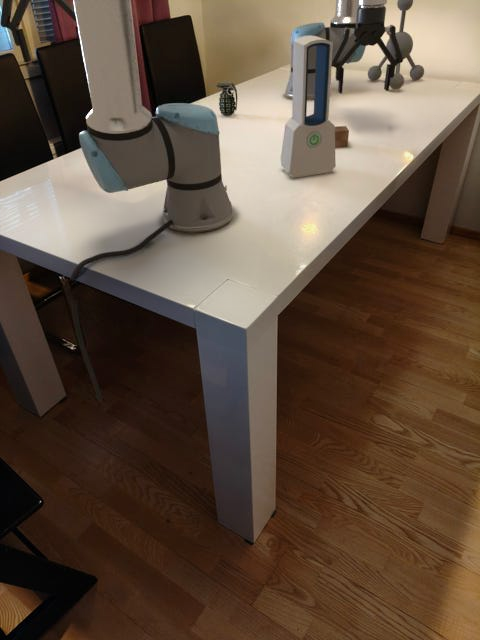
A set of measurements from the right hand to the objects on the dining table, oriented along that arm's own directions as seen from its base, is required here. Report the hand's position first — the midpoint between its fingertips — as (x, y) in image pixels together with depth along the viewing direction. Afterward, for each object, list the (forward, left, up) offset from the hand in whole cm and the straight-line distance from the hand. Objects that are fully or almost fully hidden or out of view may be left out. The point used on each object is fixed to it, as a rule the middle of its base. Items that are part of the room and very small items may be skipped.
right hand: (363, 91), depth 143 cm
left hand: (+21, -80, +16) cm, 85 cm away
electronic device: (+30, -21, -11) cm, 39 cm away
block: (+12, -9, -11) cm, 19 cm away
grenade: (-25, -40, -11) cm, 48 cm away
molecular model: (-55, +30, -11) cm, 63 cm away
